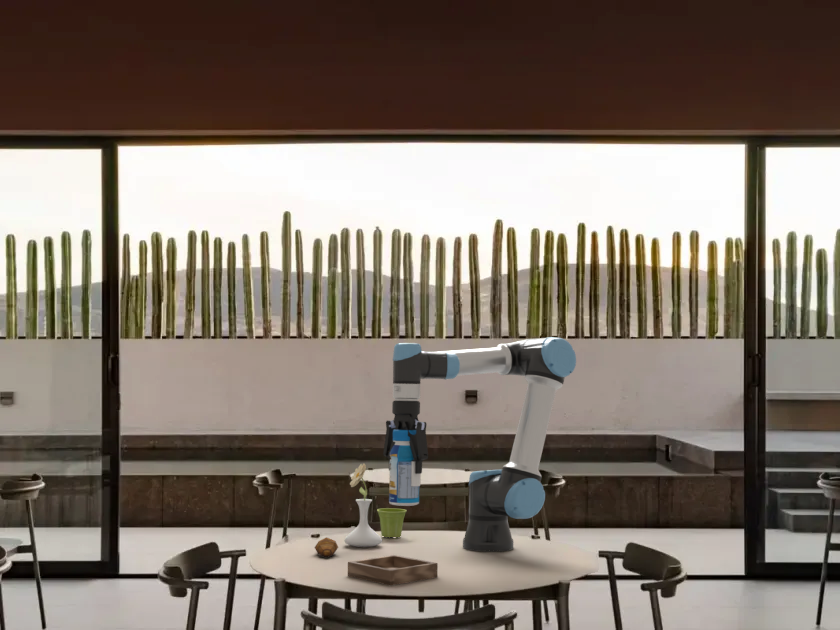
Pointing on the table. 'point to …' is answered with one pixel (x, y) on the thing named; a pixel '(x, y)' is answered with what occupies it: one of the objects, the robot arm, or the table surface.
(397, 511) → the plant pot
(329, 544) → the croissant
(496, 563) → the table surface
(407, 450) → the beverage bottle
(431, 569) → the walnut tray
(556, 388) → the robot arm
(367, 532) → the flower in vase
